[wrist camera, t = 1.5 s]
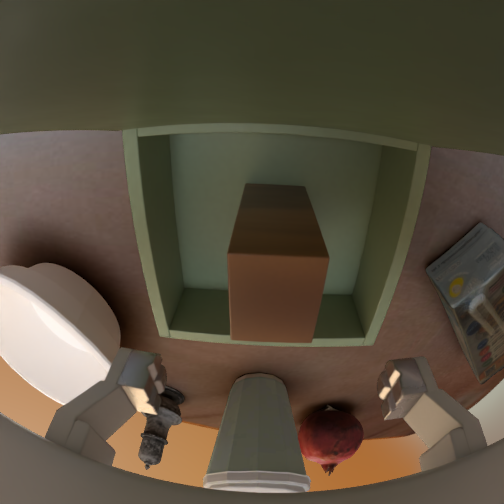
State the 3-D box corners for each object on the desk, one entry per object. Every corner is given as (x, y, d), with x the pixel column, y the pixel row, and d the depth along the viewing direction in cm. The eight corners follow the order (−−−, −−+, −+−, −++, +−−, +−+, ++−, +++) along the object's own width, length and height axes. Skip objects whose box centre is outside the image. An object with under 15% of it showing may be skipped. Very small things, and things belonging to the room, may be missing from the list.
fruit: (335, 391, 32) (343, 460, 24) (369, 409, 35) (379, 467, 27) (282, 415, 36) (282, 477, 27) (321, 430, 39) (325, 483, 30)
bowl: (-2, 284, 27) (-34, 321, 20) (43, 184, 20) (-19, 225, 13) (101, 380, 35) (82, 423, 28) (193, 337, 28) (175, 405, 21)
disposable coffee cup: (199, 373, 31) (175, 490, 18) (283, 349, 28) (284, 491, 15) (245, 411, 36) (237, 508, 23) (318, 393, 33) (326, 502, 20)
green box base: (356, 296, 24) (373, 345, 19) (178, 288, 25) (159, 336, 20) (390, 124, 17) (433, 138, 11) (160, 112, 17) (120, 122, 12)
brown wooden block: (245, 182, 19) (226, 252, 11) (305, 185, 19) (330, 257, 11) (244, 248, 21) (230, 340, 14) (298, 250, 21) (311, 344, 13)
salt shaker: (186, 408, 37) (171, 479, 26) (148, 399, 36) (128, 468, 26) (186, 389, 34) (167, 470, 23) (143, 379, 33) (118, 456, 23)
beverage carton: (482, 215, 19) (526, 253, 13) (505, 318, 26) (527, 352, 20) (421, 266, 22) (453, 316, 16) (462, 352, 29) (479, 389, 23)
